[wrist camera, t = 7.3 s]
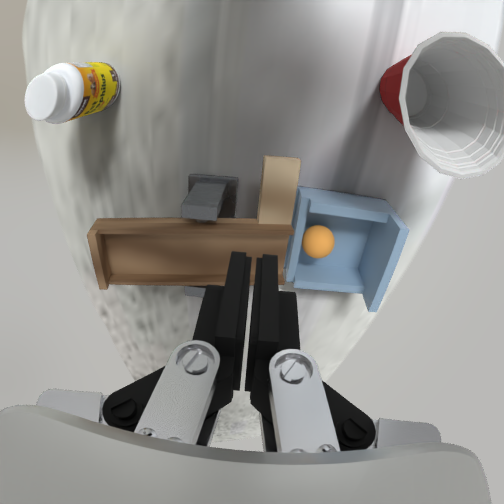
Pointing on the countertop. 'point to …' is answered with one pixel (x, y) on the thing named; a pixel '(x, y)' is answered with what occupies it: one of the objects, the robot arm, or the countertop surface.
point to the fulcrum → (209, 205)
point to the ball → (318, 241)
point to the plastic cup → (450, 103)
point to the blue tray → (346, 244)
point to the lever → (197, 238)
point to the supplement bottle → (71, 91)
